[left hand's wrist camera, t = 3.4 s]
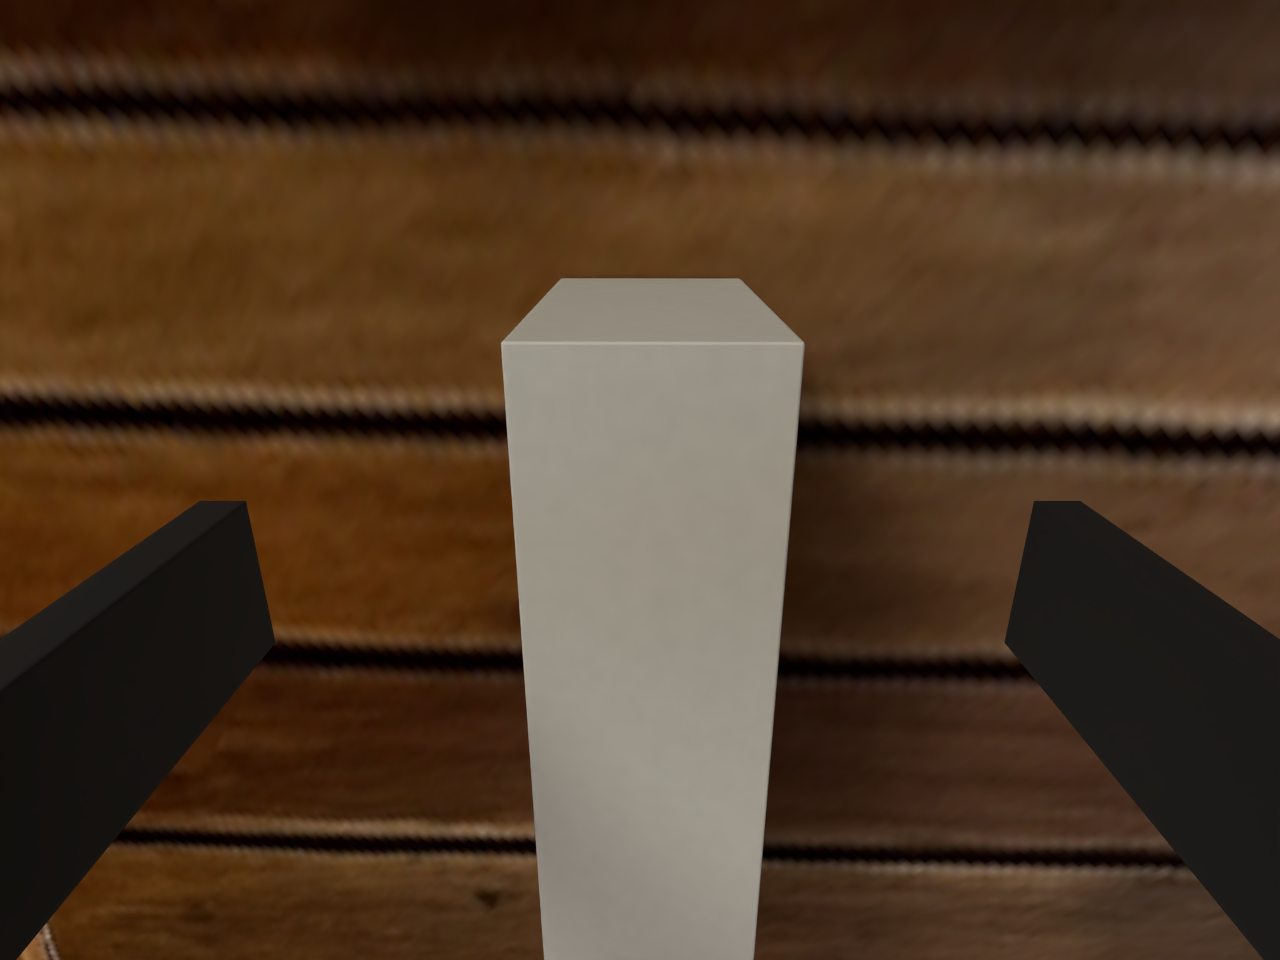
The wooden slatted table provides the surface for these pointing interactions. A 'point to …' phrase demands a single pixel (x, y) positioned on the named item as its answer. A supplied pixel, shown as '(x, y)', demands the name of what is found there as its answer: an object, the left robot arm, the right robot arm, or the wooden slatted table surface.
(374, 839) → the wooden slatted table surface
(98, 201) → the wooden slatted table surface
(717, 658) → the grey bar
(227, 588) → the left robot arm
